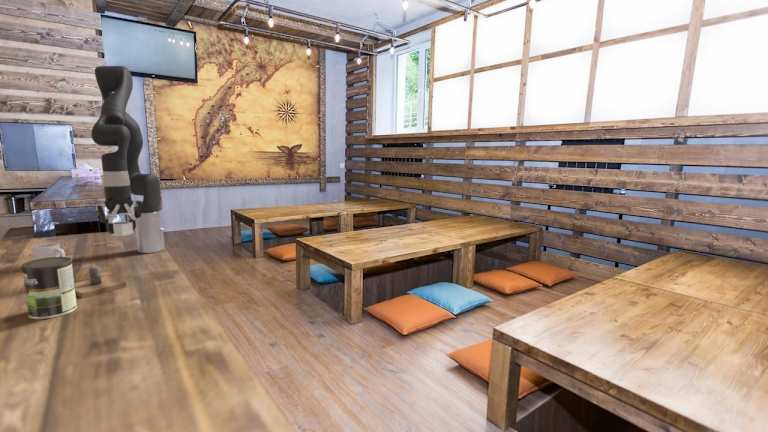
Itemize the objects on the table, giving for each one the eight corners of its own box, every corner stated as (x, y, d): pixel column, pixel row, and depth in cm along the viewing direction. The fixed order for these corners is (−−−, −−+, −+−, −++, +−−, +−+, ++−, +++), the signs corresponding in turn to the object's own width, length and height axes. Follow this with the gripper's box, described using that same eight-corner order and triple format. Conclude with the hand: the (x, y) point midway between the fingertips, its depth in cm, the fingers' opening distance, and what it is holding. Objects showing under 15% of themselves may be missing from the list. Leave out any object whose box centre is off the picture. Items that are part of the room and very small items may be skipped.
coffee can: (39, 323, 98) (31, 270, 96) (21, 314, 103) (13, 263, 100) (85, 308, 107) (79, 260, 105) (66, 301, 112) (60, 254, 109)
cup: (75, 263, 147) (72, 243, 146) (55, 269, 139) (52, 248, 138) (49, 262, 148) (46, 242, 147) (28, 268, 140) (25, 247, 139)
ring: (127, 231, 139) (126, 220, 138) (135, 233, 136) (134, 222, 135) (108, 234, 134) (107, 223, 133) (116, 236, 131) (115, 225, 130)
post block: (109, 279, 131) (107, 260, 130) (126, 286, 124) (124, 267, 123) (66, 289, 121) (63, 269, 120) (81, 298, 114) (79, 277, 113)
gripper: (134, 182, 140) (138, 227, 143) (87, 185, 128) (93, 234, 131) (144, 183, 136) (149, 229, 139) (97, 186, 124) (103, 237, 127)
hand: (122, 231), depth 135 cm, fingers closed on ring, 6 cm apart
